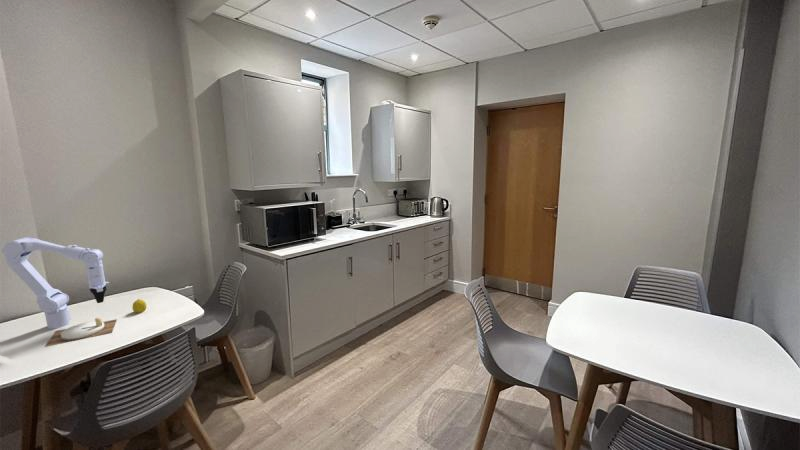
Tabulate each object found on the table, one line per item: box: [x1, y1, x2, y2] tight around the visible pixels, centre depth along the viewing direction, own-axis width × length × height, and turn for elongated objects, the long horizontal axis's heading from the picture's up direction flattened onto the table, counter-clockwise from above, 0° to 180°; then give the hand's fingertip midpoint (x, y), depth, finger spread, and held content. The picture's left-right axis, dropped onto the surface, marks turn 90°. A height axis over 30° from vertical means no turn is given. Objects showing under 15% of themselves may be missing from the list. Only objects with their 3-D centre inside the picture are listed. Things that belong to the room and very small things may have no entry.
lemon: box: [132, 298, 147, 314], centre depth 166 cm, size 6×6×8 cm
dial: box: [61, 317, 105, 340], centre depth 145 cm, size 14×14×5 cm
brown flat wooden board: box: [44, 318, 118, 348], centre depth 146 cm, size 16×21×2 cm
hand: (100, 302), depth 156 cm, fingers closed
